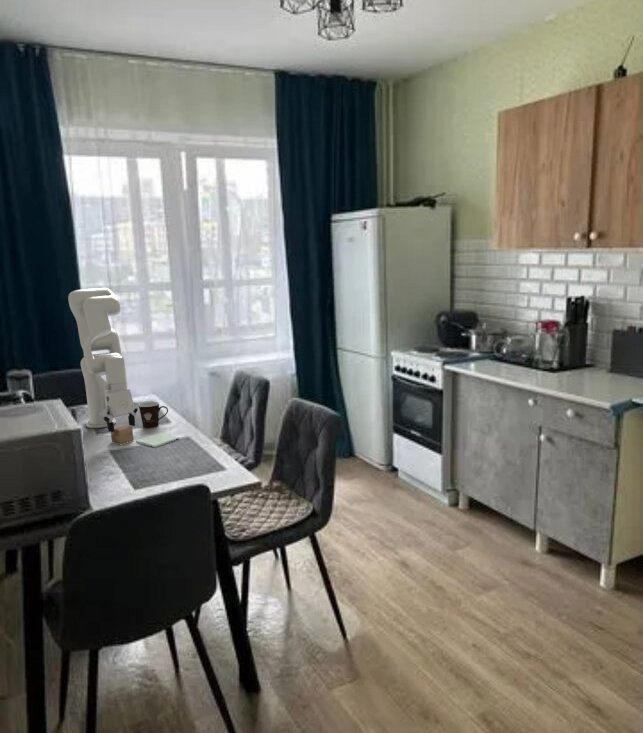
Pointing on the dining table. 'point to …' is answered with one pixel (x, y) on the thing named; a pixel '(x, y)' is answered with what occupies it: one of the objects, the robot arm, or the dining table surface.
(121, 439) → the walnut cube
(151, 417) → the coffee mug
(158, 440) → the green tile
